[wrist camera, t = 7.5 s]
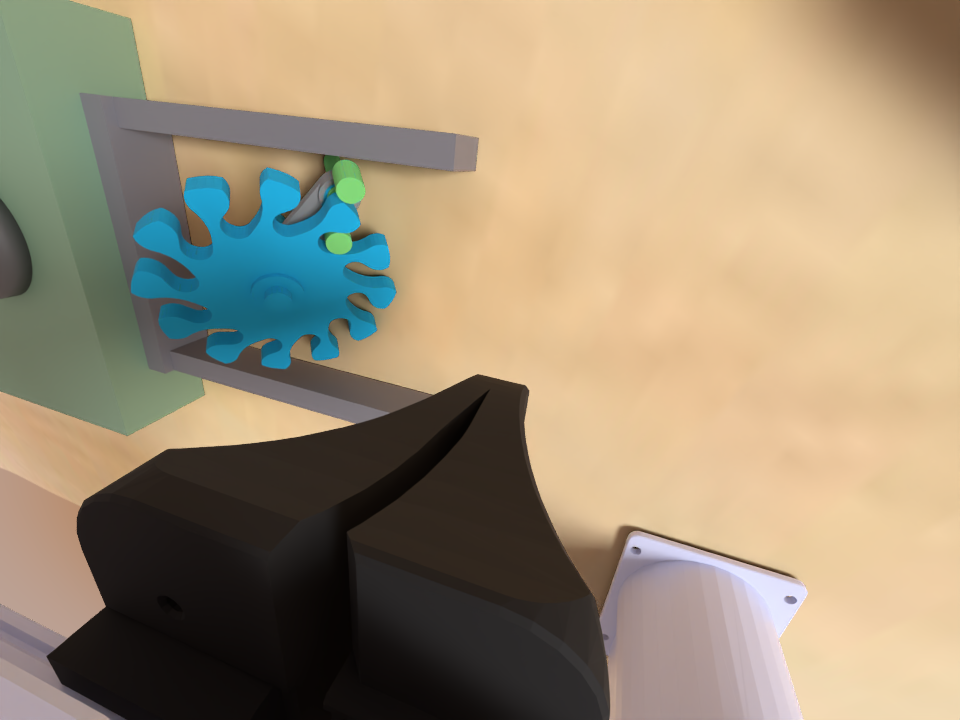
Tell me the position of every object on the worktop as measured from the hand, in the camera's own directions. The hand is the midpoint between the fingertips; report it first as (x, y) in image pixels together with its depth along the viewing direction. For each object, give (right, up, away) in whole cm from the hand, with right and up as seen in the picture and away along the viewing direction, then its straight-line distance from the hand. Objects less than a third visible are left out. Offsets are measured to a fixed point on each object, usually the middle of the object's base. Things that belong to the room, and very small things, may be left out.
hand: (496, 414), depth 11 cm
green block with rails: (-15, +7, +13) cm, 21 cm away
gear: (-7, +6, +11) cm, 15 cm away
